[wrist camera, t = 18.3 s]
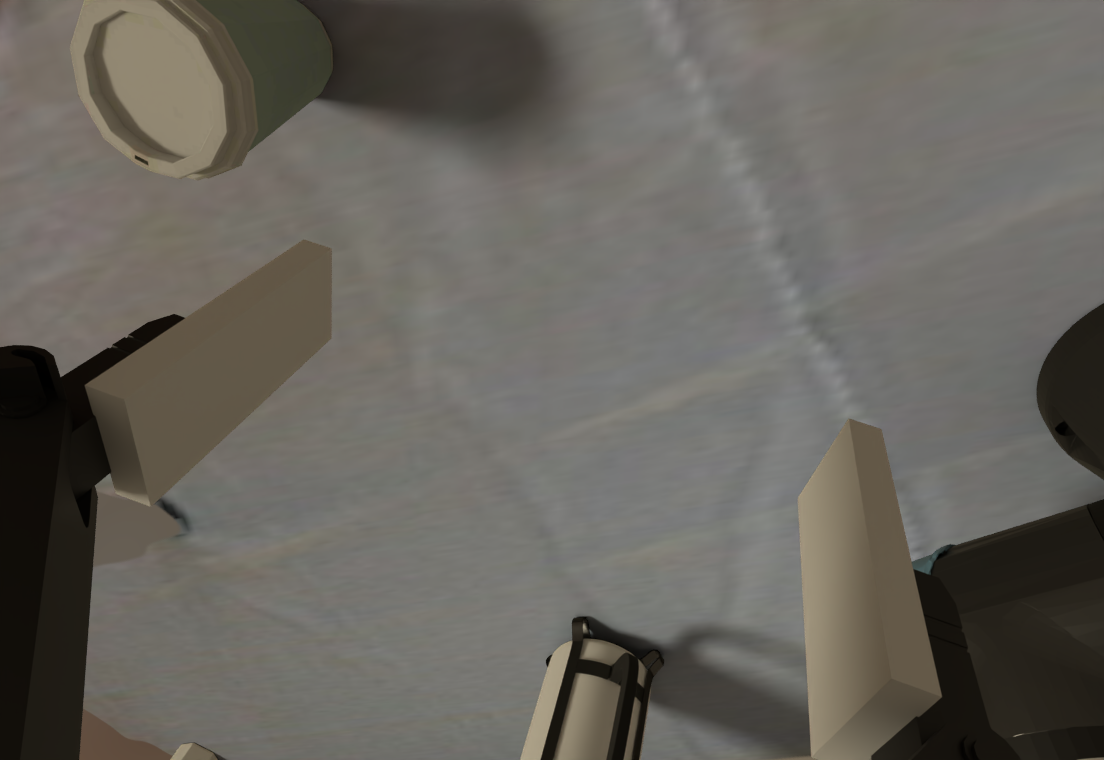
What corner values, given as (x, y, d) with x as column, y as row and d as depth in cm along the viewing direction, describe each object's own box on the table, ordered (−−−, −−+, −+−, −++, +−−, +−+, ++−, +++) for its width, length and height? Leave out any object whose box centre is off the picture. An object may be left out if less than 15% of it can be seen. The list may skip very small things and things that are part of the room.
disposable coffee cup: (241, -69, 44) (45, -68, 32) (383, 12, 44) (242, 41, 32) (225, 83, 50) (56, 131, 38) (349, 152, 51) (221, 221, 39)
